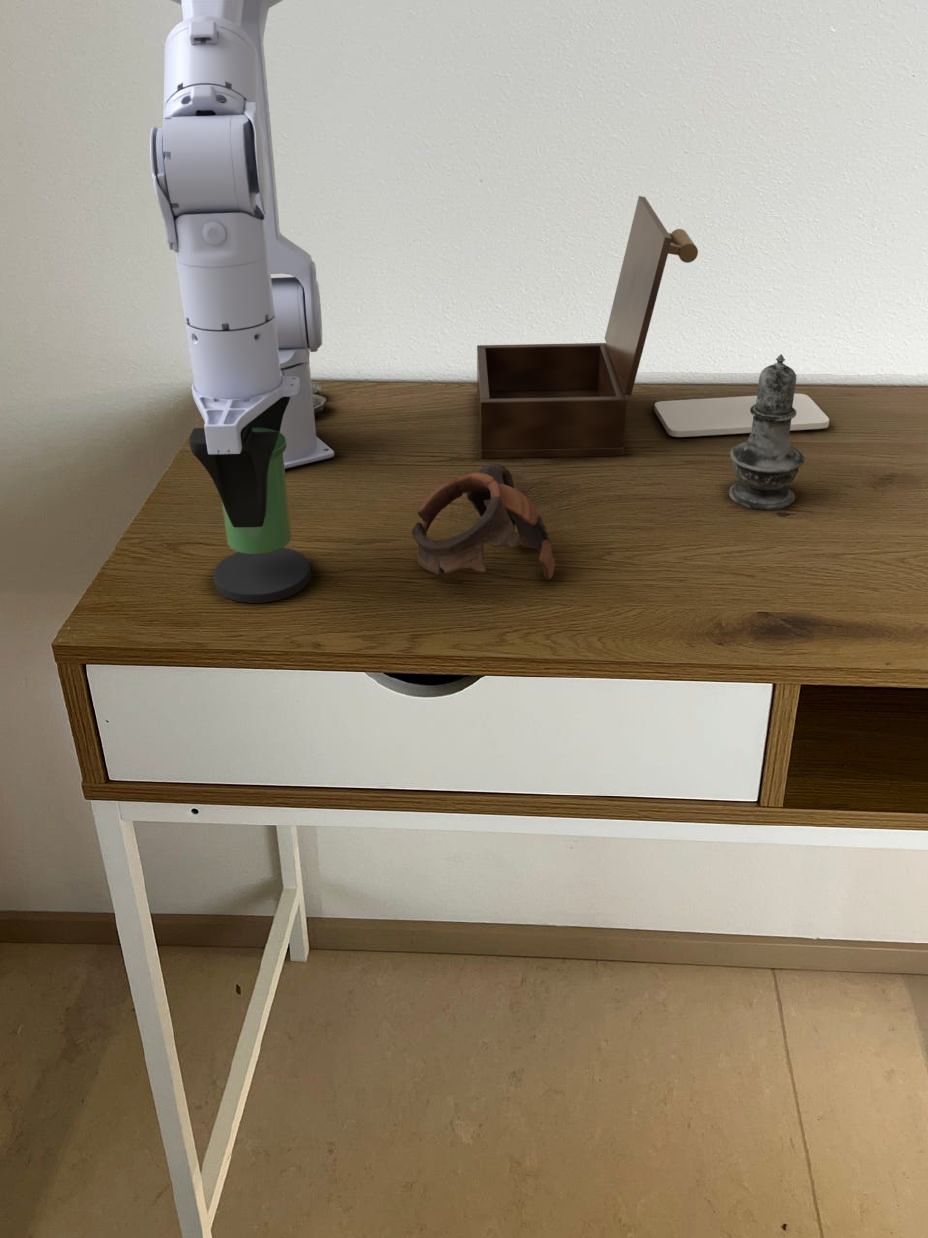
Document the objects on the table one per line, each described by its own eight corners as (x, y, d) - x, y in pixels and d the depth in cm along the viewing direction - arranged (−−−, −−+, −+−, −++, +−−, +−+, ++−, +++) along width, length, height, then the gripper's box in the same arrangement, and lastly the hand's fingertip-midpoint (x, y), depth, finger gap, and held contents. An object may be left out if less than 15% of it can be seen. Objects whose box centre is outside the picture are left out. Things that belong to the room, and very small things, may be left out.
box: (481, 458, 101) (480, 402, 98) (477, 396, 113) (476, 344, 110) (623, 456, 101) (627, 399, 98) (604, 394, 113) (607, 342, 110)
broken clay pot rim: (564, 606, 81) (511, 529, 76) (448, 644, 85) (390, 572, 79) (565, 494, 89) (517, 417, 84) (459, 532, 93) (407, 461, 87)
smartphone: (652, 401, 109) (805, 392, 110) (651, 408, 110) (804, 399, 111) (670, 431, 103) (832, 422, 104) (670, 439, 104) (831, 429, 105)
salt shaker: (804, 486, 95) (827, 347, 89) (790, 517, 91) (812, 372, 84) (734, 475, 97) (751, 337, 91) (717, 503, 93) (733, 361, 86)
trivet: (204, 602, 81) (202, 593, 81) (227, 554, 87) (225, 545, 87) (301, 604, 81) (300, 595, 80) (318, 555, 87) (317, 546, 86)
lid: (664, 237, 91) (715, 245, 91) (638, 195, 103) (683, 203, 104) (624, 394, 98) (671, 402, 98) (604, 338, 110) (646, 345, 111)
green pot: (212, 533, 83) (198, 437, 79) (279, 516, 85) (269, 421, 81) (237, 563, 79) (224, 463, 75) (307, 544, 81) (297, 447, 77)
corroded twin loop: (320, 388, 115) (319, 378, 115) (330, 417, 109) (329, 407, 108) (270, 392, 115) (269, 382, 114) (277, 423, 108) (276, 412, 107)
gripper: (278, 354, 67) (299, 556, 75) (304, 283, 79) (320, 462, 87) (158, 356, 67) (191, 558, 75) (202, 285, 79) (227, 464, 87)
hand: (254, 506), depth 81 cm, fingers closed on green pot, 5 cm apart
